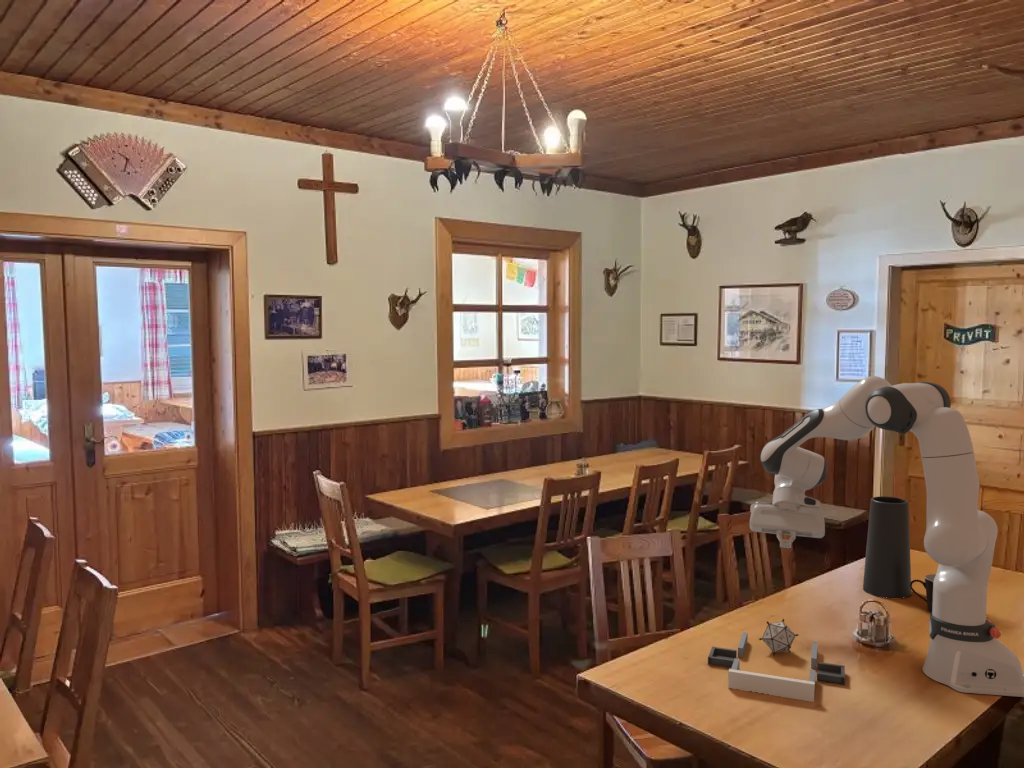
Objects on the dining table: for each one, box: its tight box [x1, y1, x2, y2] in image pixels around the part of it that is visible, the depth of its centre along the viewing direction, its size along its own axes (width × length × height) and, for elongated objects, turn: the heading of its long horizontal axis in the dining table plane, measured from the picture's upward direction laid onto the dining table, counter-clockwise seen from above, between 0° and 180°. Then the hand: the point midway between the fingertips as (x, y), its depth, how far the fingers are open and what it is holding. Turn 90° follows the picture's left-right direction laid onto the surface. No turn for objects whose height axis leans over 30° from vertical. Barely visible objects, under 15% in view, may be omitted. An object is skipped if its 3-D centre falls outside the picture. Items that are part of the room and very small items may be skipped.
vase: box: [862, 495, 912, 599], centre depth 248 cm, size 14×14×29 cm
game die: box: [758, 618, 799, 657], centre depth 203 cm, size 9×8×10 cm
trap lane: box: [707, 631, 846, 703], centre depth 193 cm, size 31×29×4 cm
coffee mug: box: [910, 573, 936, 614], centre depth 231 cm, size 12×9×10 cm
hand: (785, 546), depth 222 cm, fingers closed
